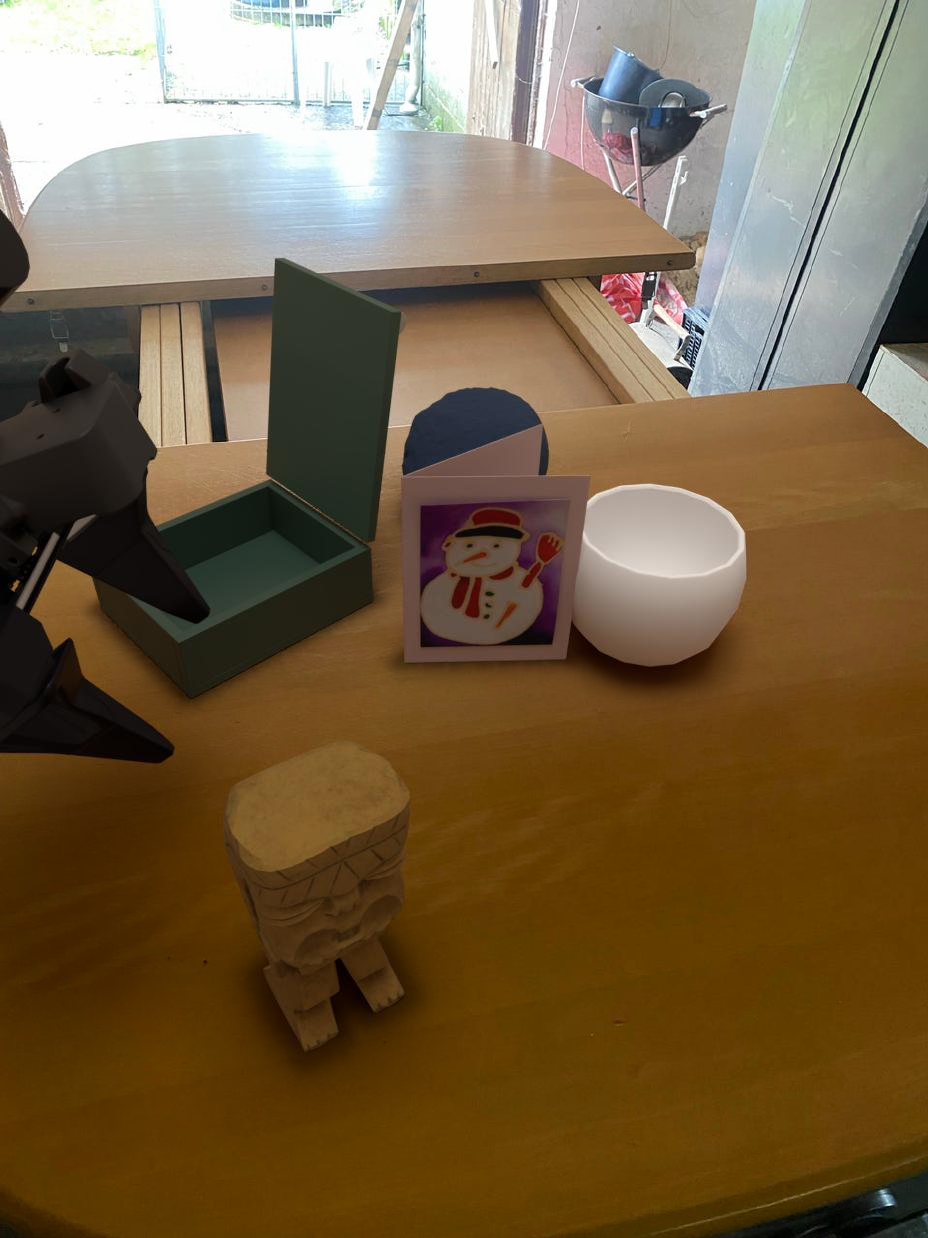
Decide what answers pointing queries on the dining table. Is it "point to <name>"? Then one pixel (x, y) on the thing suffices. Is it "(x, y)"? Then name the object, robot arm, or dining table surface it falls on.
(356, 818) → the figurine
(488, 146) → the dining table surface
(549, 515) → the greeting card
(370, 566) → the green open box
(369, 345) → the box lid
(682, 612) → the cup
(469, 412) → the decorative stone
